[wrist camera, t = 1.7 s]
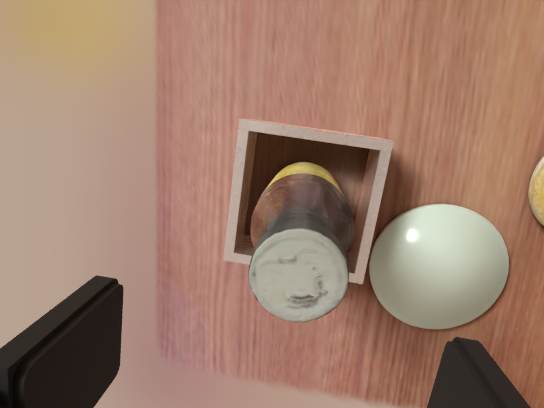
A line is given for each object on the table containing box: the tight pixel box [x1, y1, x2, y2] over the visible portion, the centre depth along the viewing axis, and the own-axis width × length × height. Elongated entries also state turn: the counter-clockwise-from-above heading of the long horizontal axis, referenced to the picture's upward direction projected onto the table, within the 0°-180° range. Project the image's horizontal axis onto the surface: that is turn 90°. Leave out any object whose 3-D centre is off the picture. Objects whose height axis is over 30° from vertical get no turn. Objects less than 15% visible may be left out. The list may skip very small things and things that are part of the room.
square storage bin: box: [223, 118, 394, 284], centre depth 31 cm, size 12×12×5 cm
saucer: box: [369, 203, 509, 329], centre depth 34 cm, size 12×12×1 cm
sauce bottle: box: [249, 162, 354, 322], centre depth 24 cm, size 6×6×20 cm
